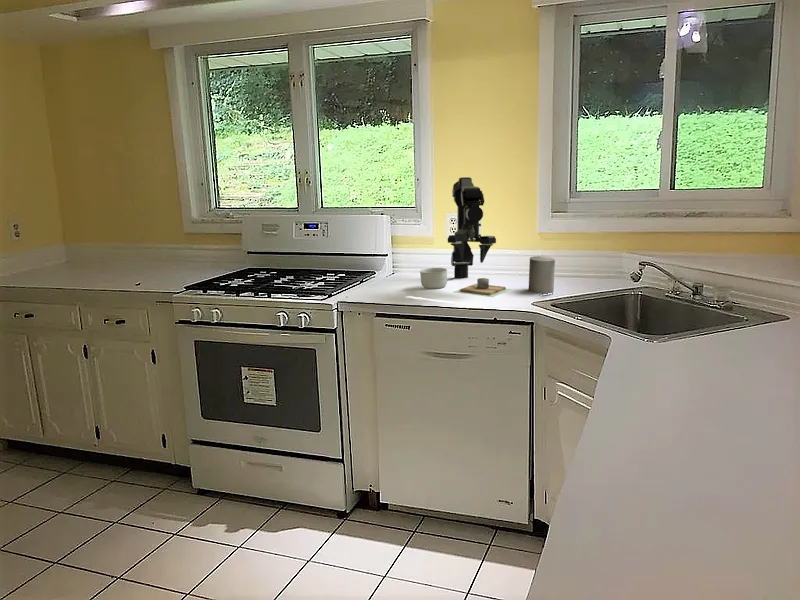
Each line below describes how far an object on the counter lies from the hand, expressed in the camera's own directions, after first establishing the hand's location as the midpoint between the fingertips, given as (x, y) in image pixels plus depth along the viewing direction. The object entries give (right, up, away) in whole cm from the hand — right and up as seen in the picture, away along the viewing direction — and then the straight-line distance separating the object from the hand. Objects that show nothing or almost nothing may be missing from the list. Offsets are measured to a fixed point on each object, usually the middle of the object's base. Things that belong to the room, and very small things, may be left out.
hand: (471, 262), depth 264 cm
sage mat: (+5, -12, +4) cm, 13 cm away
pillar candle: (+27, -12, +3) cm, 30 cm away
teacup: (-14, -10, +14) cm, 22 cm away
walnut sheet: (+5, -11, +3) cm, 12 cm away
